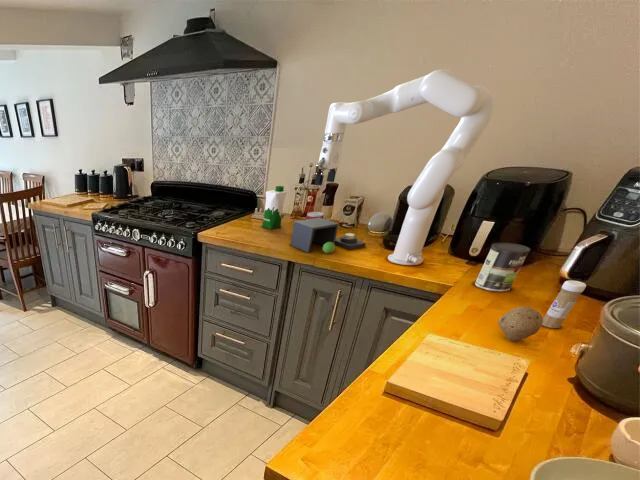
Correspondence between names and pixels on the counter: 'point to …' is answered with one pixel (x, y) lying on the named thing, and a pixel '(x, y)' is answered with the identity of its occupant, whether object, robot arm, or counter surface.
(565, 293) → the sprinkles bottle
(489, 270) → the coffee can
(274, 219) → the milk carton
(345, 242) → the button housing
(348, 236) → the button
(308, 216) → the canned food
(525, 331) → the potato
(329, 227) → the cubby
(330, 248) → the ball
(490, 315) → the counter surface
